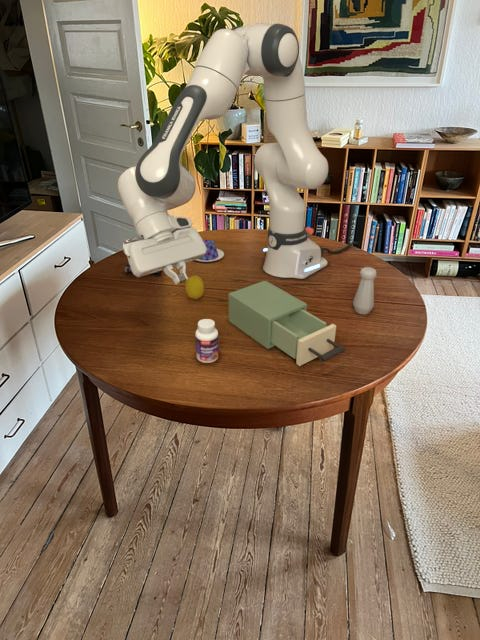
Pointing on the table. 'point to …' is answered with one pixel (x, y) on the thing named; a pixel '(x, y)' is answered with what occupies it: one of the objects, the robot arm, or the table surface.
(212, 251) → the pudding
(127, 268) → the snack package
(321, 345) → the drawer
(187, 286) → the lemon
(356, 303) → the salt shaker
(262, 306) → the cabinet
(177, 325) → the table surface
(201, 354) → the pill bottle
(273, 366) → the table surface
